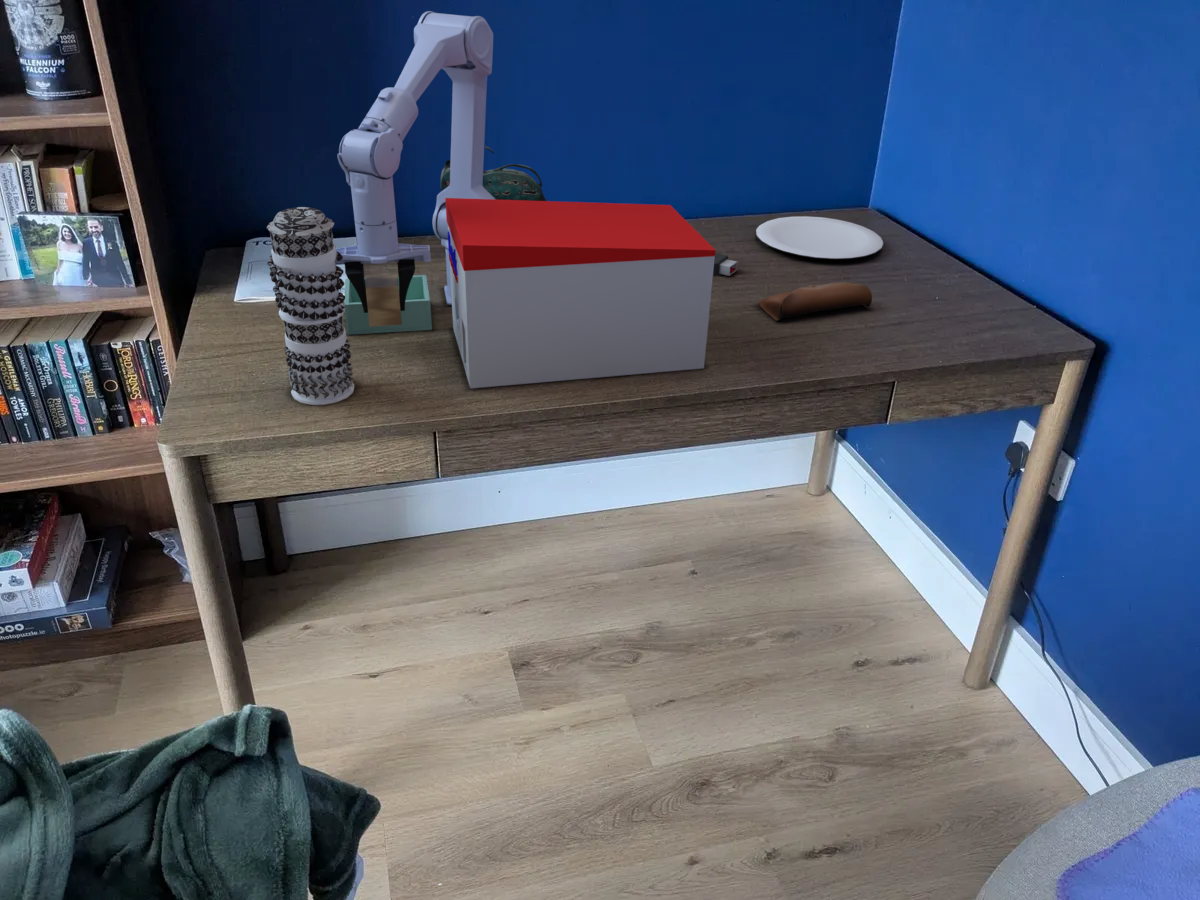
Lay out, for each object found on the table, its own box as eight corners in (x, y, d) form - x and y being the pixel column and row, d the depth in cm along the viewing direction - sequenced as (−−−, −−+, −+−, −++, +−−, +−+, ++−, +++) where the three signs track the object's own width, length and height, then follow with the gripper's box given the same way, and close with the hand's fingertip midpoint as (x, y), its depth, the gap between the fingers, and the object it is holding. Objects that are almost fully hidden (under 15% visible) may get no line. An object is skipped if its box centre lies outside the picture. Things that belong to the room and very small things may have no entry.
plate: (880, 230, 199) (882, 222, 198) (883, 271, 178) (885, 263, 177) (760, 218, 203) (761, 210, 202) (749, 257, 182) (750, 249, 182)
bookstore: (450, 328, 151) (443, 197, 140) (662, 313, 158) (671, 188, 147) (467, 389, 133) (460, 245, 123) (704, 368, 141) (717, 231, 130)
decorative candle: (302, 372, 136) (276, 199, 123) (366, 377, 136) (346, 204, 123) (277, 403, 128) (247, 222, 115) (344, 408, 128) (321, 226, 115)
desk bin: (428, 303, 159) (426, 274, 157) (432, 329, 150) (429, 300, 147) (348, 307, 157) (345, 278, 154) (347, 334, 148) (344, 304, 145)
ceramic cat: (445, 261, 176) (439, 151, 166) (442, 249, 182) (435, 141, 171) (551, 255, 180) (551, 147, 170) (544, 243, 186) (544, 138, 175)
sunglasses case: (842, 288, 169) (859, 264, 163) (859, 320, 166) (877, 297, 160) (754, 302, 162) (768, 277, 157) (770, 335, 159) (786, 311, 154)
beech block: (400, 312, 144) (397, 274, 141) (401, 324, 140) (398, 286, 137) (369, 314, 143) (365, 276, 140) (369, 326, 140) (365, 288, 136)
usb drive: (681, 256, 182) (682, 242, 180) (738, 270, 176) (740, 256, 175) (668, 264, 178) (669, 250, 176) (726, 278, 173) (728, 264, 171)
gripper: (320, 230, 129) (332, 323, 136) (429, 226, 132) (435, 317, 139) (322, 214, 135) (334, 303, 142) (426, 210, 138) (432, 298, 145)
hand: (384, 309), depth 141 cm, fingers closed on beech block, 4 cm apart
